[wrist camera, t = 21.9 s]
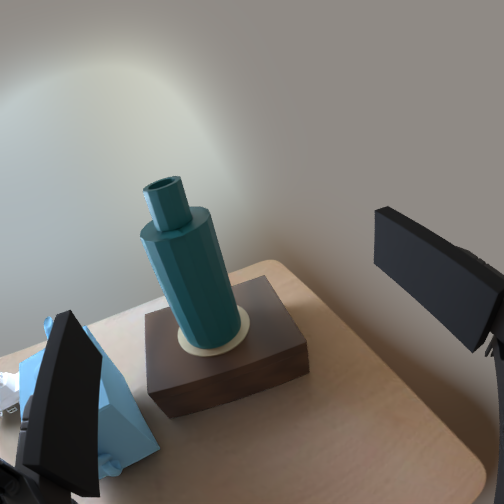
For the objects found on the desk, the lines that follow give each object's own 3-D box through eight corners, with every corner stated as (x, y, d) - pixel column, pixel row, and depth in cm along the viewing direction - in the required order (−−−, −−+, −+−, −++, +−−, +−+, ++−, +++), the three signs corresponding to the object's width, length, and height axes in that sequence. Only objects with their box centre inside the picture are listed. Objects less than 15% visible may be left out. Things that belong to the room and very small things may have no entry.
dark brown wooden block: (271, 305, 45) (264, 273, 42) (309, 372, 33) (306, 340, 30) (160, 342, 42) (143, 313, 39) (169, 419, 30) (146, 392, 27)
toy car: (-3, 400, 32) (-26, 376, 28) (37, 378, 37) (15, 352, 33) (-3, 423, 27) (-29, 399, 24) (39, 402, 32) (13, 376, 29)
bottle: (233, 300, 38) (194, 165, 29) (248, 337, 32) (203, 180, 23) (182, 317, 37) (129, 186, 28) (189, 356, 31) (121, 207, 22)
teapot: (178, 471, 24) (107, 415, 17) (102, 507, 19) (12, 461, 12) (117, 357, 40) (73, 289, 33) (64, 387, 35) (12, 324, 28)
